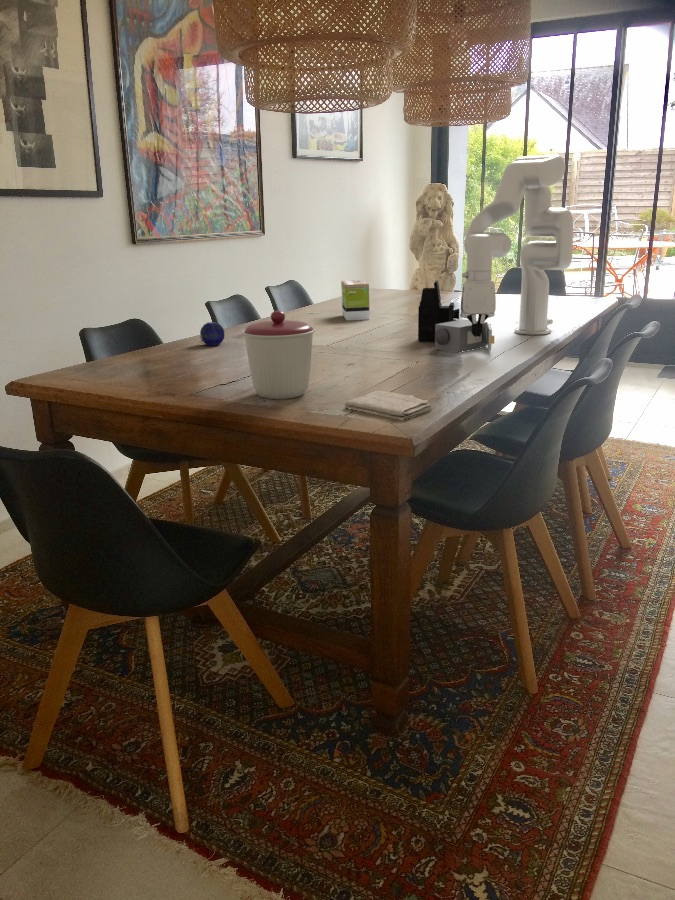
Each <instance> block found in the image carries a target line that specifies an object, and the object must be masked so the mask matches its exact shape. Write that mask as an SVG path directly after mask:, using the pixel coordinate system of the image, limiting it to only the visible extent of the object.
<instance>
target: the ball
mask: <svg viewBox="0 0 675 900" xmlns="http://www.w3.org/2000/svg"><path fill="white" fill-rule="evenodd" d="M199 332H200V333H199V334H200V335H199V343H200V345H202V346H205V345H207V346H209V345H210V346H209V347H214V345H217V346H219V345H221V343H222V342H224V340H225V329H224V328H223V326H222V325H221V324H220V323H218V322H215V321H211V322H206V323H204V324H203V325H202V327H200V330H199ZM200 345H199V346H200Z"/></svg>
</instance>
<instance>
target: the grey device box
mask: <svg viewBox="0 0 675 900" xmlns="http://www.w3.org/2000/svg"><path fill="white" fill-rule="evenodd" d="M455 320H456V321H451V322H445V323H440V324H435V342H434V349H435V350H438V349H441V350H440V351H444V350H447V351H446V352H450V351H454V352H453V353H456V352H461V353H463V352H462V351H465V352H468V351H467V350H470V351H473V350H472V349H474V350H477V349H476V348H479V349H481V348H480V347H483V348H486V347H485V346H487V344H486V341H487V324H489V323H488V321H484V323H483V324H482V333H481V336H480V337H478V336H477V337H475V336H473V334H472V332H471V331H472V323H471V322H470V321H469V320H468V319H466V318H462V319H455ZM487 347H488V346H487Z"/></svg>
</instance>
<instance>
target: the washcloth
mask: <svg viewBox="0 0 675 900" xmlns="http://www.w3.org/2000/svg"><path fill="white" fill-rule="evenodd" d="M428 402H429V400H427V399H426V400H424V399H422V398H421V399H419V398H417V397H415V395H412V394H411V395H410V394H409V395H406V394H403V393H402V394H400V393H398V392H390V391H389V392H388V391H384V390H375V391H372V392H369V393H367V394H365V395H363V396H359V397H356V398H355V397H354V398H353V399H350V400H347V401H345V403H344V408H345V409H346V408H350V409H355V410H359V411H358V412H360V411H363V412H362V413H364V412H366V413H365V414H369V413H370V415H374V414H375V416H379V415H380V417H385V418H389V417H390V418H389V419H394V420H398V419H399V421H404V420H407V419H408V418H409V419H412V418H414V417H417V416H419V415H422V414H426V413H428V412H430V411H431V410H432V409H433V407H432V404H431V403H428ZM350 409H349V410H350ZM355 410H354V411H355ZM409 419H408V420H409Z"/></svg>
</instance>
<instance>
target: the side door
mask: <svg viewBox="0 0 675 900" xmlns="http://www.w3.org/2000/svg"><path fill="white" fill-rule="evenodd" d="M486 344H487V350H488V352H491V351H492V344H493V345H494V344H495V335H494V334H493V329H492V324H491V323H488V324H487V341H486Z"/></svg>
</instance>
